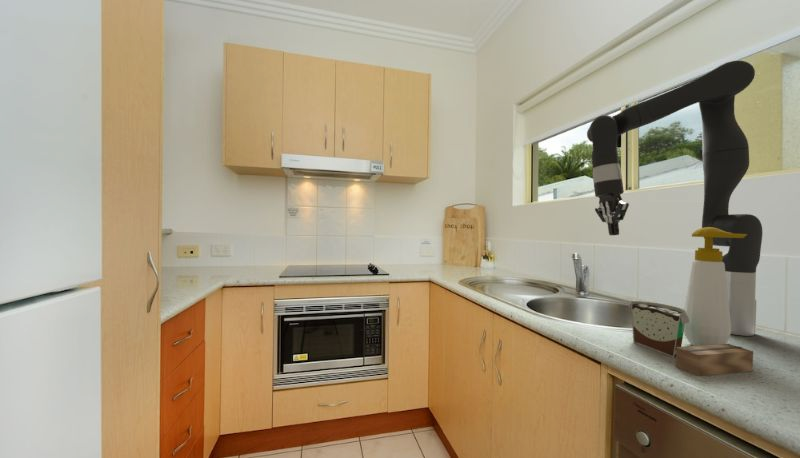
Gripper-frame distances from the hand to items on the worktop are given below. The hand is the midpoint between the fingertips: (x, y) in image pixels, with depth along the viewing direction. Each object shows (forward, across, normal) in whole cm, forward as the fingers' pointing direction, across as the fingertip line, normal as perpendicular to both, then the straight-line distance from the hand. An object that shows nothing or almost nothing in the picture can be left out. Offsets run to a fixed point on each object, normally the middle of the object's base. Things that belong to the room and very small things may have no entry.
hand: (614, 235), depth 97 cm
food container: (+27, -22, +7) cm, 36 cm away
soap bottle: (+29, -21, -5) cm, 36 cm away
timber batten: (+28, -33, +5) cm, 43 cm away
